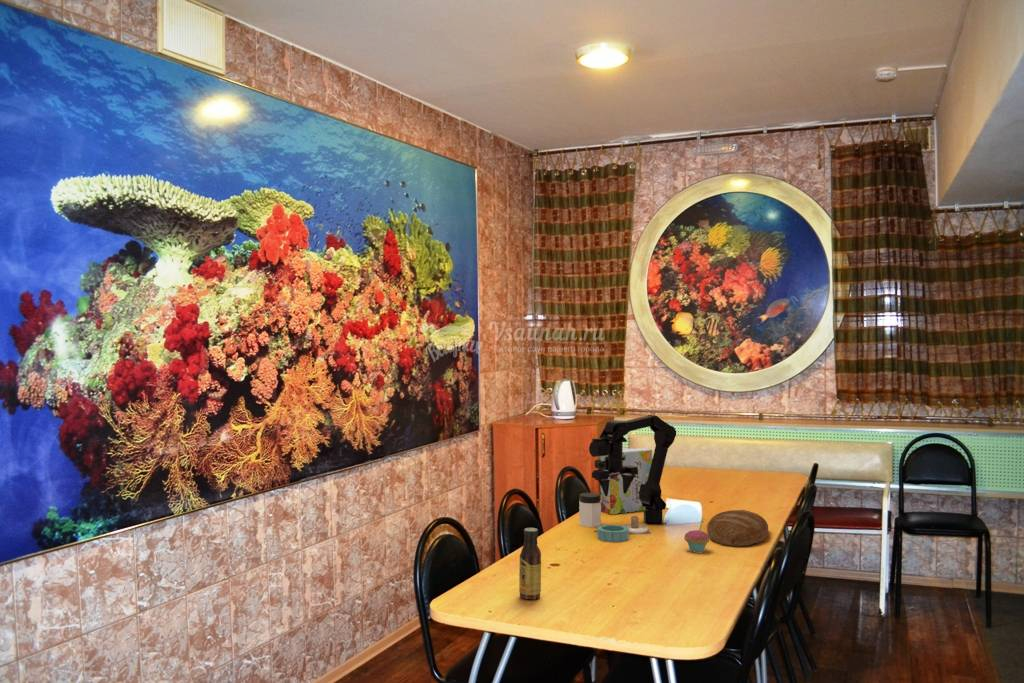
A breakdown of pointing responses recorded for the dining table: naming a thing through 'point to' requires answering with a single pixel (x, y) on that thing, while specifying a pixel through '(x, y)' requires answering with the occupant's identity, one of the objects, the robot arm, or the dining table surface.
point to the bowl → (612, 533)
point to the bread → (737, 528)
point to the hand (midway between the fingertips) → (615, 494)
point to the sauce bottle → (530, 566)
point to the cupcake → (697, 539)
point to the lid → (636, 526)
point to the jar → (590, 510)
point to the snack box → (630, 500)
